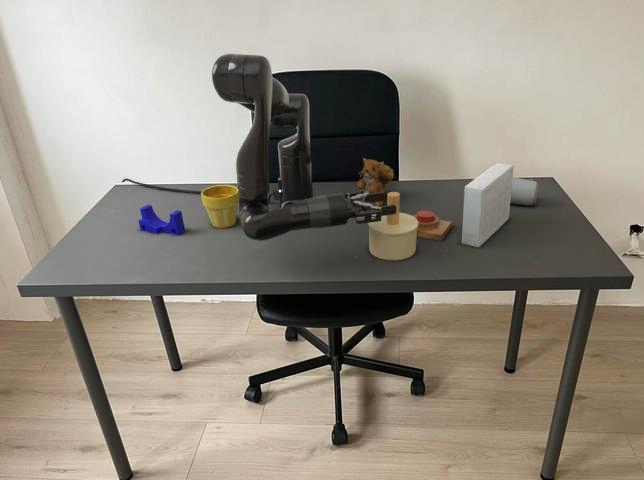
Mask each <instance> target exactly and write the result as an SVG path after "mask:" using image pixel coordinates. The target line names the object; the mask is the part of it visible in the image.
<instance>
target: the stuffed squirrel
mask: <svg viewBox="0 0 644 480" xmlns="http://www.w3.org/2000/svg"><path fill="white" fill-rule="evenodd" d="M358 175H360V176H359V177H360V179H359V180H358V181H357V183H356V191H360V190H364V191H365V193H366V192H367V193H369V194H370V193H378V192H383V193H384V194H385V193H386V188H387V184H390V182H391V181H392V180H393V179H395V177H394V176H395V174H394V169H392V168H391V167H390V166H389V165H386V164H384V161H381V162H379V161H378V160H375V159H369V158H368V159H367V158H365V157H364V158H363V167H362V170H361V171H360V172H359V173H358ZM361 177H362V178H361ZM384 201H385V200H384ZM384 201H381V202H373V203H370V201H369V203H370V204H372V205H373V206H378V207H381V206H383V204H384V203H385V202H384Z"/></svg>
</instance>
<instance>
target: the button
mask: <svg viewBox="0 0 644 480" xmlns="http://www.w3.org/2000/svg"><path fill="white" fill-rule="evenodd" d="M417 214H418V218H417V220H418V221H420V222H425V223H426V222H432V221H434V215H435V213H434V212H433V211H431V210H421V211H420V210H419V211H418V212H417Z"/></svg>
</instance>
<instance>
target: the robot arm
mask: <svg viewBox="0 0 644 480" xmlns="http://www.w3.org/2000/svg"><path fill="white" fill-rule="evenodd" d="M211 81H212V85H213V88H214V90H215V92H216V94H217V95H218V97H219V98H220V99H221V100H222V101H224V102H227V103H234V104H238V105H240V106H242V107H243V108H245V109H247V110H248V111H251V112H252V113H254V116H253V121H252V124H251V127H250V129H249V131H248V132H247V135H246V136H245V138H244V140H243V142H242V144H241V146H240V148H239V149H238V152H237V154H236V160H235V172H236V173H235V174H236V185H237V188H238V191H239V203H238V215H239V216H238V217H239V222H240V225H241V229H242V232H243V234H244V236H245V237H246V238H248V239H249V240H252V241H258V242H259V241H261V242H262V241H268V240H271V239H274V238H277V237H279V236H283V235H285V234H288V233H290V232H292V231H300V230H301V231H302V230H308V229H309V230H310V229H323V228H331V227H338V226H345V225H347V224H348V220H349V219H355V223H356V224H357V225H360V224H368V223H371V222H379V221H381V217H382V216H386V215H393V214H396V206H395V205H388V206H387V205H381V206H379V207H378V206H374V205H373V204H371V203H373V202H381V201H385V199H386V198H385V195H386V194H385V193H383V192H378V193H370V194H369V193H367V192H366V193H365V191H364V190H360V191H357V190H354V191H348V192H343V193H340V192H339V193H331V194H325V195H324V194H323V195H317V196H314V187H313V169H312V167H313V166H312V151H311V129H310V125H311V123H310V118H311V117H310V114H311V113H310V101H309V98H308V96H307V95H306V94H305V93H288V91H287V89H286V87H285V86H284V85H283V84H282V82H280V81H279V80H278V79H277V78H274V77H273V70H272V65H271V63H270V61H269V59H268V58H267V57H266V56H265V55H260V54H244V53H243V54H241V53H240V54H239V53H226V54H223V55H220V56H219V57H217V59H216V60H215V61H214V63H213V65H212V70H211ZM271 125H272V126H273V127H275V128H277V129H283V130H284V129H288V130H289V129H291V130H295V129H296V130H297V131H296V133H295V134H293V135H291V136H289V137H286V138H283V139H281V140H280V141H279V142H278V143H277V152H278V153H277V155H278V165H279V177H278V178H277V185H278V186H277V187H276V188H274V189H273V190H272V192H271V193H270V170H269V169H270V167H269V147H270V146H269V145H270V134H271V133H270V132H271ZM125 182H130V183H132V184H135V185H140V186H143V187H147V188H152V189H159V190H163V191H164V190H165V191H171V192H179V193H190V194H201V192H202V191H203V190H189V189H179V188H170V187H163V186H157V185H154V184H153V185H152V184H147V183H144V182H139V181H135V180H132V179H130V178H123V179H122V180H121V183H125ZM272 196H273V200H275V201H279V208H276V209H274V210H270V207H269V203H270V202H271V197H272ZM369 201H370V203H369ZM372 217H374V218H372Z"/></svg>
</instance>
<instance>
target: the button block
mask: <svg viewBox="0 0 644 480" xmlns="http://www.w3.org/2000/svg"><path fill="white" fill-rule="evenodd" d="M410 215H411V216H413V217H415V218H416V219H417V218H418V213H416V214H413V215H412V214H410ZM451 228H452V221H449V220H448V221H447V220H443V219H440V217H439V216H438V215H436V214H434V221H432V222H426V223H425V222H420V221H418V228H417V236H416V237H420V238H424V239H430V240H436V241H441V242H442V241H443V239H444V238H445V236H446V235H447V234H448V232H449V231H450V230H451Z"/></svg>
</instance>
